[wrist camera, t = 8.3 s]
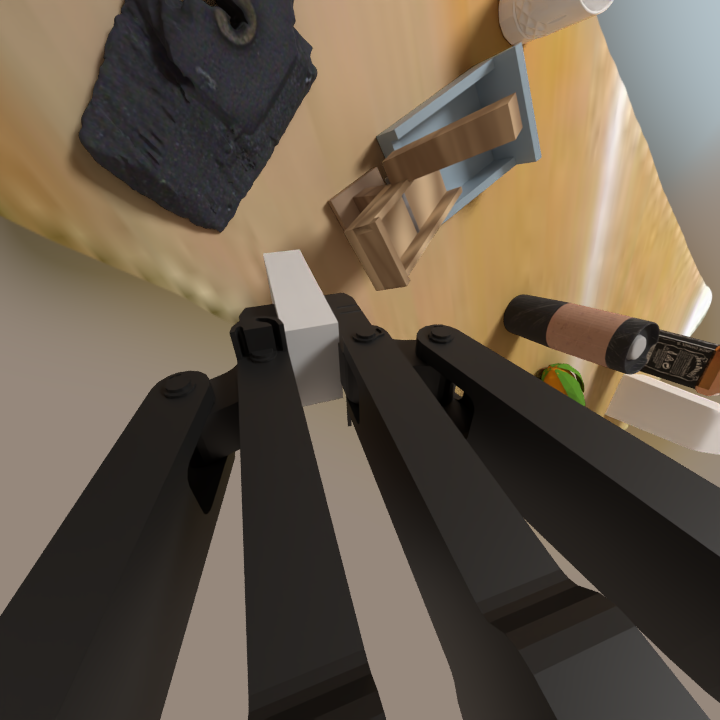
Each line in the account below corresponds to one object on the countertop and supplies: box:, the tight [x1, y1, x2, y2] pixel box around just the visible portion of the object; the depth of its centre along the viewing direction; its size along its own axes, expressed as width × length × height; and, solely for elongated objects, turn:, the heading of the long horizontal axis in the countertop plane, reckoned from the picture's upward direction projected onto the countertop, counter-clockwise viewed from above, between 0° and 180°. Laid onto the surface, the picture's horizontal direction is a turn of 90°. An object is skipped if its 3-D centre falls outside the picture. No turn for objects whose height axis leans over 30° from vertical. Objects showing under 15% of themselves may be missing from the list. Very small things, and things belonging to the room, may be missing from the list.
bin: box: [376, 42, 541, 225], centre depth 41 cm, size 16×12×7 cm
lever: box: [344, 92, 523, 291], centre depth 30 cm, size 18×9×12 cm, turn 122°
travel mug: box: [504, 295, 660, 375], centre depth 53 cm, size 8×8×20 cm
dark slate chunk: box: [79, 0, 317, 232], centre depth 29 cm, size 15×22×5 cm
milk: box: [605, 374, 720, 454], centre depth 83 cm, size 12×12×26 cm
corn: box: [541, 363, 585, 406], centre depth 73 cm, size 7×8×20 cm
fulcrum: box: [328, 167, 386, 231], centre depth 39 cm, size 7×7×8 cm
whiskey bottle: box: [640, 329, 720, 396], centre depth 69 cm, size 10×10×32 cm
